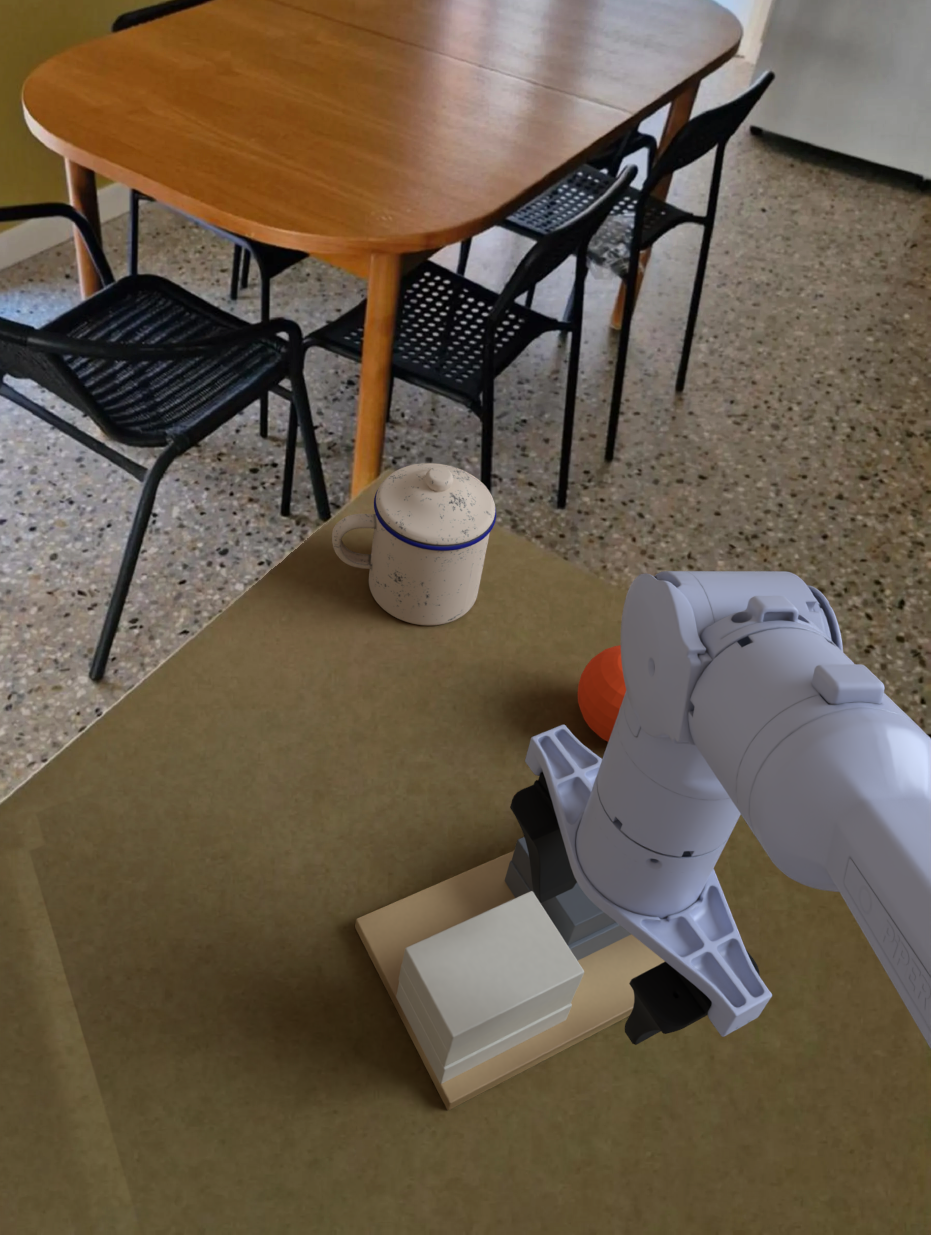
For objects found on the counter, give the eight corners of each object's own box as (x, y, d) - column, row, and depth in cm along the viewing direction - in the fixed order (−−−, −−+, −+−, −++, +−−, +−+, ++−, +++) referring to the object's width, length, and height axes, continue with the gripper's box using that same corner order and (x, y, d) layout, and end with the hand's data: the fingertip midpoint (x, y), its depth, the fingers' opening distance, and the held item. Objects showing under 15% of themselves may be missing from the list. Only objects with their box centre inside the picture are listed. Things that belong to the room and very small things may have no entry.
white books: (566, 1020, 61) (579, 988, 59) (440, 1084, 58) (448, 1054, 56) (516, 938, 64) (526, 905, 62) (394, 995, 61) (401, 963, 59)
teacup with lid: (472, 548, 91) (492, 436, 84) (488, 631, 84) (512, 517, 77) (326, 545, 90) (334, 432, 83) (330, 629, 83) (339, 513, 76)
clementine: (652, 678, 82) (676, 612, 77) (699, 755, 77) (728, 688, 72) (552, 697, 80) (572, 630, 75) (594, 778, 75) (618, 710, 70)
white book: (578, 988, 59) (585, 971, 58) (448, 1053, 56) (452, 1037, 55) (526, 906, 62) (532, 889, 61) (401, 964, 59) (404, 947, 58)
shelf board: (720, 968, 65) (725, 959, 64) (447, 1111, 58) (449, 1103, 57) (608, 816, 72) (611, 807, 72) (354, 927, 65) (355, 918, 65)
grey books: (683, 908, 67) (703, 869, 64) (560, 969, 63) (575, 930, 60) (623, 827, 71) (639, 786, 68) (503, 880, 67) (515, 839, 64)
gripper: (867, 908, 43) (760, 1060, 51) (634, 644, 53) (577, 809, 61) (727, 985, 40) (639, 1132, 49) (509, 691, 50) (468, 857, 58)
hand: (597, 956), depth 55 cm, fingers open, 7 cm apart
